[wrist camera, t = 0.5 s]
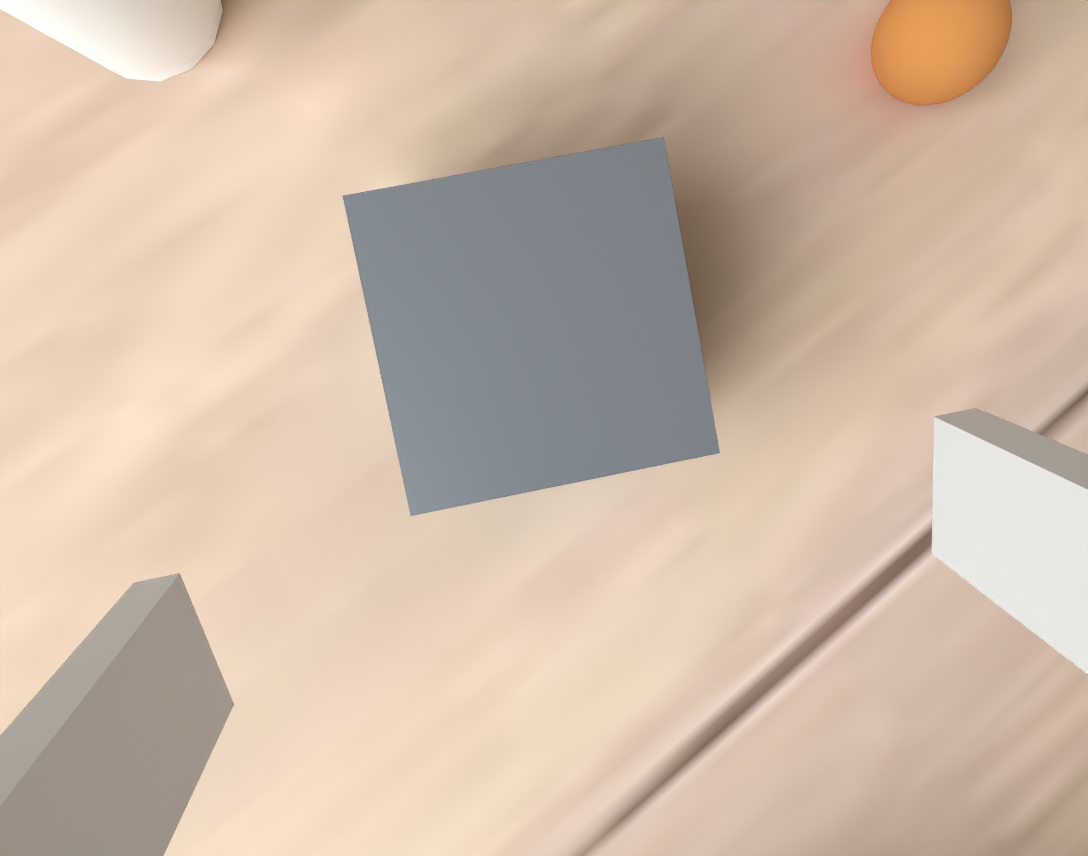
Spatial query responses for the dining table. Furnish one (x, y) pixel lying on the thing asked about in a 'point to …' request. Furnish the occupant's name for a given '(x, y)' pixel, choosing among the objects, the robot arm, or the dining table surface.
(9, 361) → the dining table surface
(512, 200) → the grey square block
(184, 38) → the foam cup
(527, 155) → the dining table surface
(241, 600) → the dining table surface
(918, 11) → the orange egg
